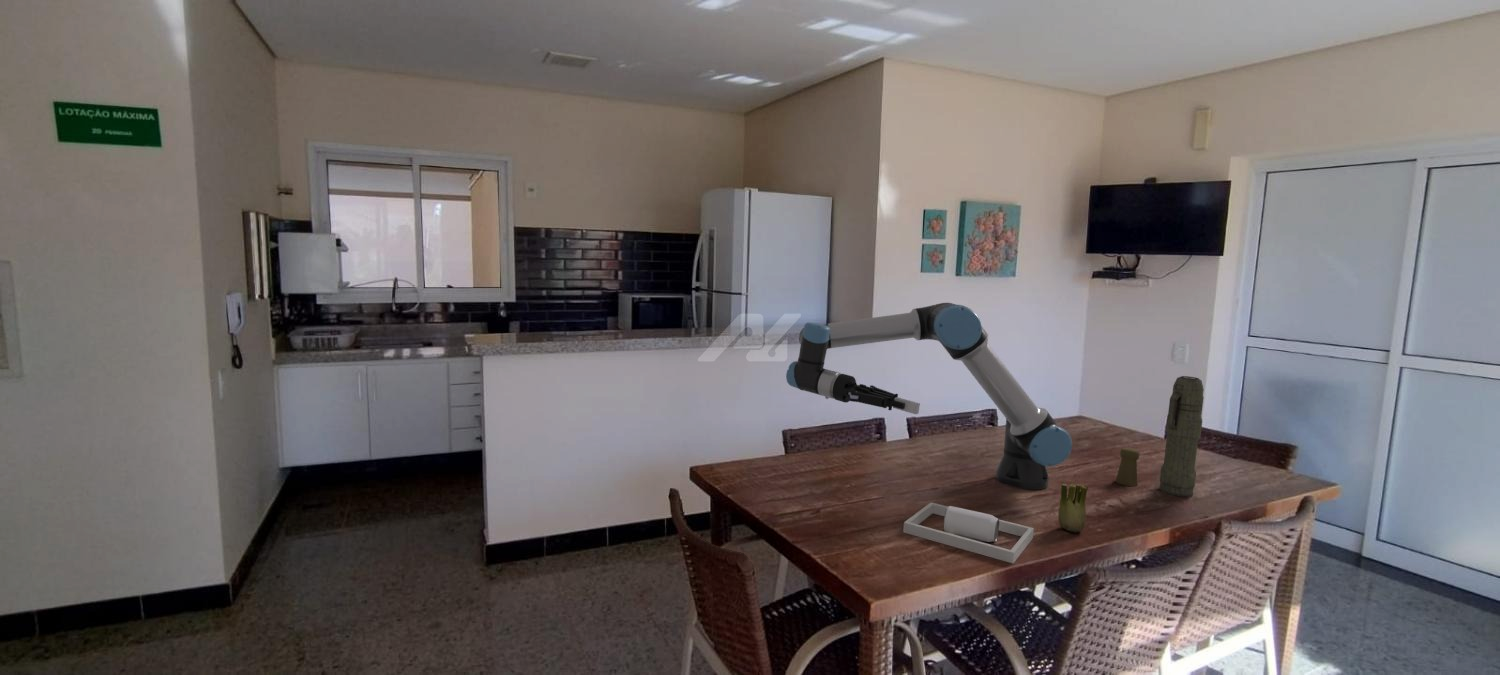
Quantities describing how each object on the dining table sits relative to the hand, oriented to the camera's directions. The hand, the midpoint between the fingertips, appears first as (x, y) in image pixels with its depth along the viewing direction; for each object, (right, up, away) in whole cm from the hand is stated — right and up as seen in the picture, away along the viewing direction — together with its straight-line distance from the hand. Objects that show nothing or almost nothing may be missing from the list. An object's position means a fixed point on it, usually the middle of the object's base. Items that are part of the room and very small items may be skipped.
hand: (918, 408), depth 174 cm
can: (+5, -26, -7) cm, 28 cm away
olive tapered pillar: (+74, -27, +36) cm, 87 cm away
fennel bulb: (+38, -31, -3) cm, 49 cm away
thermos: (+85, -28, +30) cm, 95 cm away
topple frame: (+10, -30, -9) cm, 33 cm away
